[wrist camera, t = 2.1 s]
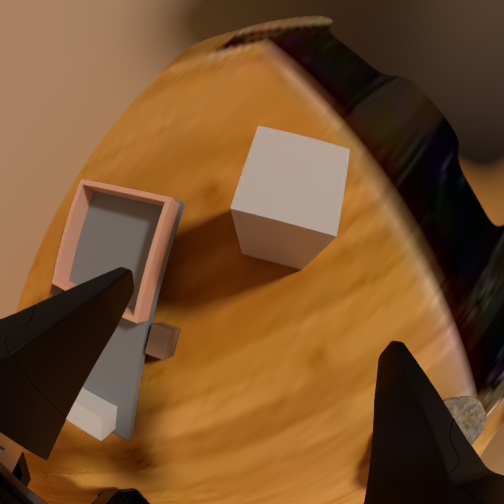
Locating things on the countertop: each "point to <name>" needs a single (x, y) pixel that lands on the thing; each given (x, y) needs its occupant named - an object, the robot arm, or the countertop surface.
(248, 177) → the grey block
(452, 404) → the fossilized seashell
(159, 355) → the pivot stand
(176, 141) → the countertop surface
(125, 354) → the board
